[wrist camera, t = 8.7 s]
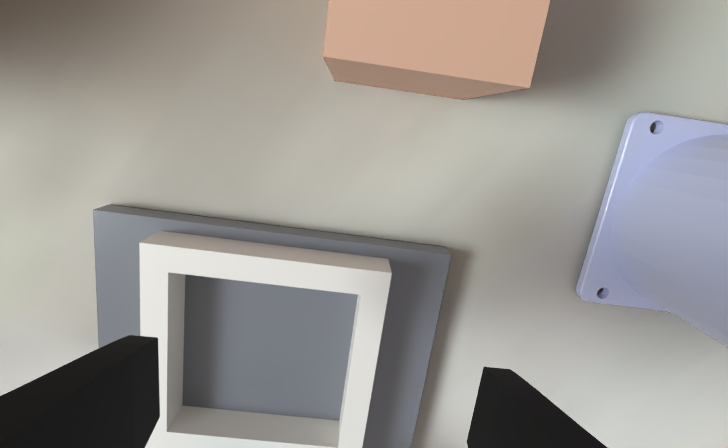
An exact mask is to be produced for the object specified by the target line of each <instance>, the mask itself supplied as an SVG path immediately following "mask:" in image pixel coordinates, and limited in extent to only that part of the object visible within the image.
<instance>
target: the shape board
mask: <svg viewBox="0 0 728 448" xmlns="http://www.w3.org/2000/svg"><path fill="white" fill-rule="evenodd" d="M93 221H94V245H95V269H96V293H97V317H98V341H99V348H101V347H103V346H105V345H107V344H109V343H111V342H114V341H116V340H118V339H121V338H123V337H126V336H128V335H135V336H146V337H157V338H158V356H159V398H160V418H159V420H158V422H157V424H156V426H155V428H154V430H153V432H152V434H151V436H150V438H149V440H148V442H147V444H146V446H145V448H411V445H412V440H413V436H414V431H415V426H416V421H417V416H418V412H419V407H420V402H421V397H422V393H423V388H424V383H425V378H426V373H427V369H428V364H429V359H430V354H431V350H432V345H433V340H434V335H435V330H436V326H437V321H438V316H439V311H440V307H441V302H442V297H443V292H444V287H445V283H446V278H447V273H448V268H449V264H450V259H451V254H450V252H449V251H448V249H447V248H446V247H442V246H434V245H427V244H419V243H411V242H403V241H395V240H387V239H379V238H371V237H363V236H355V235H347V234H339V233H331V232H323V231H316V230H308V229H300V228H292V227H284V226H276V225H268V224H260V223H252V222H244V221H236V220H228V219H220V218H213V217H205V216H197V215H189V214H181V213H173V212H165V211H157V210H149V209H141V208H133V207H125V206H117V205H106V206H103V207H100V208H97V209H94V210H93Z"/></svg>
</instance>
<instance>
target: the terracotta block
mask: <svg viewBox="0 0 728 448" xmlns="http://www.w3.org/2000/svg"><path fill="white" fill-rule="evenodd" d="M549 4H550V0H329V3H328V13H327V23H326V32H325V42H324V52H323V57H324V60H325V62H326V64H327V66H328V68H329V70H330V72H331V74H332V76H333V78H334V80H335V81H340V82H347V83H354V84H360V85H367V86H374V87H381V88H387V89H394V90H401V91H407V92H414V93H421V94H428V95H434V96H441V97H448V98H454V99H461V100H464V99H469V98H475V97H481V96H487V95H492V94H498V93H504V92H509V91H515V90H521V89H527V88H530V85H531V81H532V76H533V72H534V68H535V64H536V59H537V55H538V51H539V47H540V42H541V38H542V34H543V30H544V25H545V21H546V17H547V13H548V8H549Z"/></svg>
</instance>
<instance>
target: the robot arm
mask: <svg viewBox="0 0 728 448" xmlns="http://www.w3.org/2000/svg"><path fill="white" fill-rule="evenodd" d="M653 122H655V124H656V129H655V130H654V132H652V133H651V131H650V126H651V124H652V123H653ZM601 288H603V291H602V293H600V294H598V295H597V292H598V290H599V289H601ZM576 293H577V295H578V296H579V297H580V298H581V299H583V300H584V301H587V302H593V303H602V304H610V305H618V306H627V307H635V308H643V309H652V310H660V311H668V312H670V313H672V314H674V315H675V316H677V317H679V318H680V319H682V320H684V321H685V322H687V323H688V324H690V325H692V326H693V327H695V328H697V329H698V330H700V331H702V332H703V333H705V334H707V335H708V336H710V337H711V338H713V339H715V340H716V341H718V342H720V343H721V344H723V345H725V346H726V347H728V124H721V123H715V122H708V121H702V120H695V119H689V118H682V117H676V116H669V115H662V114H656V113H649V112H641V113H636V114H633V115H632V116H631V117H630V118H629V119H628V121H627V123H626V126H625V129H624V132H623V135H622V139H621V142H620V145H619V149H618V152H617V155H616V158H615V162H614V165H613V168H612V172H611V175H610V178H609V181H608V185H607V188H606V191H605V195H604V198H603V201H602V204H601V208H600V211H599V214H598V218H597V221H596V224H595V227H594V231H593V234H592V237H591V241H590V244H589V247H588V250H587V254H586V257H585V260H584V264H583V267H582V270H581V273H580V277H579V280H578V283H577V287H576ZM159 418H160V398H159V356H158V338H157V337H146V336H135V335H128V336H126V337H123V338H121V339H118V340H116V341H114V342H111V343H109V344H107V345H105V346H103V347H101V348H99V349H97V350H95V351H93V352H90V353H88V354H86V355H84V356H82V357H80V358H78V359H76V360H74V361H72V362H70V363H68V364H66V365H64V366H62V367H60V368H58V369H56V370H54V371H52V372H50V373H48V374H46V375H43V376H41V377H39V378H37V379H35V380H33V381H31V382H29V383H27V384H25V385H23V386H21V387H19V388H17V389H15V390H13V391H10V392H8V393H6V394H4V395H2V396H0V448H145V446H146V444H147V442H148V440H149V438H150V436H151V434H152V432H153V430H154V428H155V426H156V424H157V422H158V420H159ZM467 444H468V448H607V447H606V446H605V445H603V444H602V443H601V442H600V441H598V440H597V439H596V438H595V437H593V436H592V435H591V434H590V433H588V432H587V431H586V430H585V429H584V428H582V427H581V426H580V425H579V424H577V423H576V422H575V421H574V420H573V419H571V418H570V417H569V416H568V415H567V414H565V413H564V412H563V411H562V410H560V409H559V408H558V407H557V406H556V405H554V404H553V403H552V402H551V401H550V400H548V399H547V398H546V397H545V396H544V395H542V394H541V393H540V392H539V391H538V390H536V389H535V388H534V387H533V386H531V385H530V384H529V383H528V382H526V381H525V380H524V379H523V378H521V377H520V376H519V375H517V374H516V373H515V372H513V371H512V370H510V369H500V368H489V367H484V368H483V373H482V377H481V382H480V386H479V390H478V395H477V399H476V404H475V408H474V412H473V417H472V421H471V426H470V430H469V434H468V439H467Z"/></svg>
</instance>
